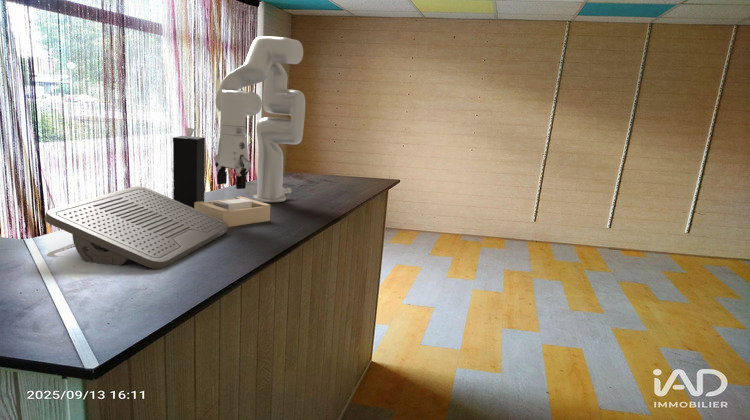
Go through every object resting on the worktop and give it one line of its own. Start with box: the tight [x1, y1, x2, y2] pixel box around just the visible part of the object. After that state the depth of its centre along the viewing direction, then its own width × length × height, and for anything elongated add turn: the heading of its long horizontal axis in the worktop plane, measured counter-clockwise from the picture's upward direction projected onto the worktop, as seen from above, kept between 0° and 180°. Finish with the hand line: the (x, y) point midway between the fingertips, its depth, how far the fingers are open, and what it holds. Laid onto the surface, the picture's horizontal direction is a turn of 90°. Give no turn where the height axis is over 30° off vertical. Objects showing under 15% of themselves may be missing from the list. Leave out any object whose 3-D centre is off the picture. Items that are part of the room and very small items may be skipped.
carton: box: [194, 196, 271, 228], centre depth 171 cm, size 18×15×6 cm
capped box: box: [213, 198, 252, 211], centre depth 171 cm, size 11×5×6 cm, turn 141°
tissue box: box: [172, 126, 206, 208], centre depth 179 cm, size 8×8×28 cm
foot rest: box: [44, 185, 229, 270], centre depth 138 cm, size 39×30×13 cm
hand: (231, 186), depth 169 cm, fingers open, 9 cm apart
